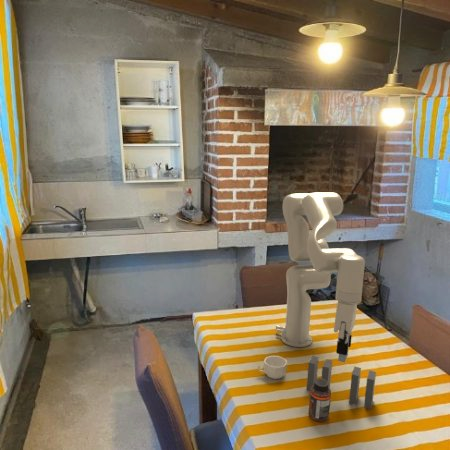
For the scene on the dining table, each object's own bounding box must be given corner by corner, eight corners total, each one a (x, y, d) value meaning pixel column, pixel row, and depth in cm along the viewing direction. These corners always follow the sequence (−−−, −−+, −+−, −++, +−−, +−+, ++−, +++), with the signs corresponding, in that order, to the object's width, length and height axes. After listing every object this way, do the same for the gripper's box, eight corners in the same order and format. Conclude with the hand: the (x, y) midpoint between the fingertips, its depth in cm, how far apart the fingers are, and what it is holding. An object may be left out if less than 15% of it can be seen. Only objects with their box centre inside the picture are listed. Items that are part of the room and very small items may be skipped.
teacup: (282, 368, 145) (283, 355, 143) (288, 381, 137) (289, 366, 136) (255, 370, 143) (256, 356, 142) (259, 382, 136) (260, 368, 135)
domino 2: (320, 394, 130) (322, 366, 128) (323, 386, 135) (326, 359, 133) (326, 396, 129) (328, 368, 127) (329, 388, 134) (332, 360, 132)
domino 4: (348, 403, 126) (351, 374, 124) (351, 394, 131) (354, 366, 129) (355, 404, 126) (358, 376, 123) (358, 396, 130) (361, 368, 128)
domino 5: (363, 407, 124) (367, 378, 122) (366, 398, 129) (369, 370, 127) (370, 409, 124) (374, 380, 122) (372, 400, 128) (376, 371, 126)
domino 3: (338, 360, 126) (340, 331, 124) (341, 353, 130) (343, 324, 128) (344, 362, 125) (347, 332, 123) (347, 355, 129) (350, 326, 127)
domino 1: (306, 390, 132) (308, 362, 130) (310, 382, 137) (312, 355, 135) (312, 392, 131) (314, 364, 129) (316, 384, 136) (318, 357, 134)
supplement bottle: (305, 409, 123) (308, 376, 120) (325, 408, 123) (327, 375, 121) (311, 423, 117) (314, 388, 115) (331, 422, 117) (334, 387, 115)
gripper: (341, 284, 132) (337, 335, 136) (329, 302, 117) (325, 359, 121) (365, 288, 129) (360, 341, 133) (356, 307, 114) (351, 366, 118)
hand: (343, 349), depth 127 cm, fingers closed on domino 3, 4 cm apart
